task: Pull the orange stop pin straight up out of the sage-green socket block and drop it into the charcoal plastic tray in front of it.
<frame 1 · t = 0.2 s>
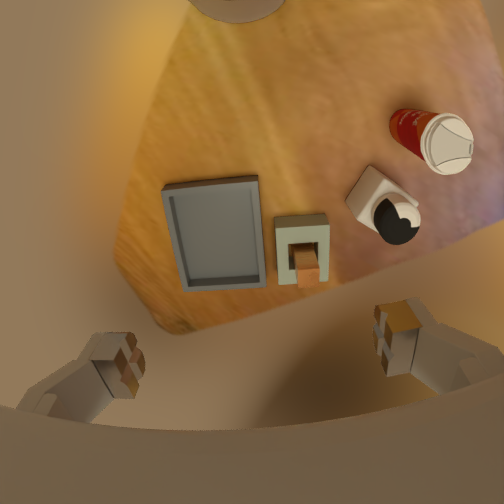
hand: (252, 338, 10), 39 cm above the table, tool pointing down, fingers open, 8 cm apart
stop pin: (304, 259, 48), in the socket block
paper cup: (404, 126, 43), on the table
socket block: (300, 243, 53), on the table
medicine bottle: (372, 193, 48), on the table
tray: (218, 233, 52), on the table
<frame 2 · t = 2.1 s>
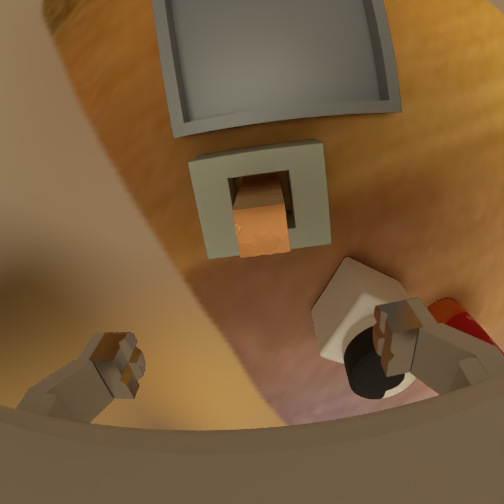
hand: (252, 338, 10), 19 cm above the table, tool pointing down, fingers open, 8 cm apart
stop pin: (262, 207, 23), in the socket block
paper cup: (439, 316, 33), on the table
socket block: (262, 191, 28), on the table
medicine bottle: (355, 295, 32), on the table
tray: (275, 40, 22), on the table
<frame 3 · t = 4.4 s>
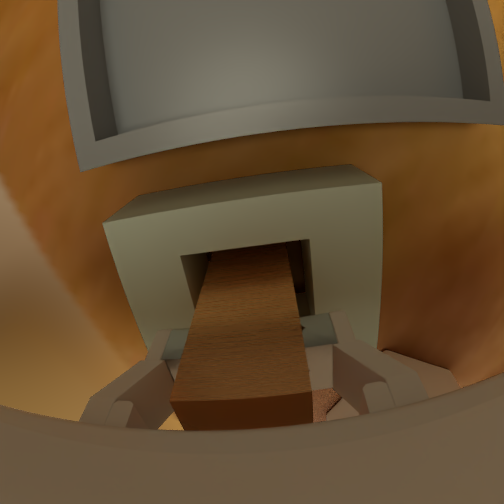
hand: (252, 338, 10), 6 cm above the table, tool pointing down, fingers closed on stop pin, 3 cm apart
stop pin: (253, 318, 11), in the socket block, touching gripper
socket block: (254, 258, 16), on the table
medicine bottle: (389, 391, 20), on the table
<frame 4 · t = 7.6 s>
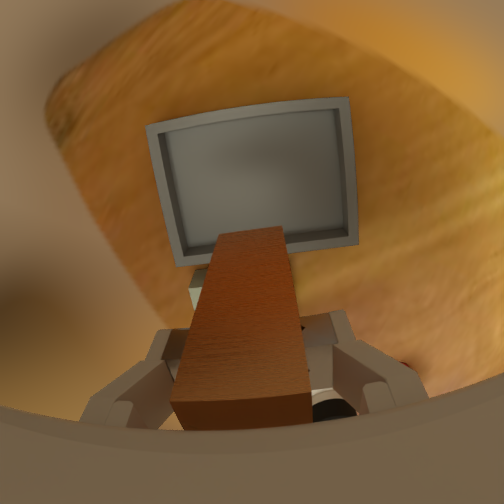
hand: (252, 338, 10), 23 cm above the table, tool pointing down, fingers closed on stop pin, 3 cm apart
stop pin: (253, 318, 11), point 22 cm above the table, touching gripper
socket block: (246, 296, 36), on the table
medicine bottle: (319, 363, 41), on the table
tray: (256, 177, 31), on the table
when the fingers open (9 cm above the table, at t = 11.1 s): stop pin drops 2 cm, resting on tray.
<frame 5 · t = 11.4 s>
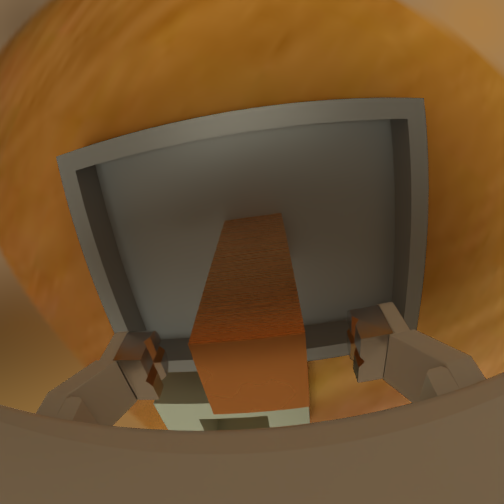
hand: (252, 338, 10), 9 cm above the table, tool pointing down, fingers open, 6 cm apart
stop pin: (256, 289, 13), in the tray, point 6 cm above the table
socket block: (241, 395, 24), on the table
tray: (254, 237, 18), on the table
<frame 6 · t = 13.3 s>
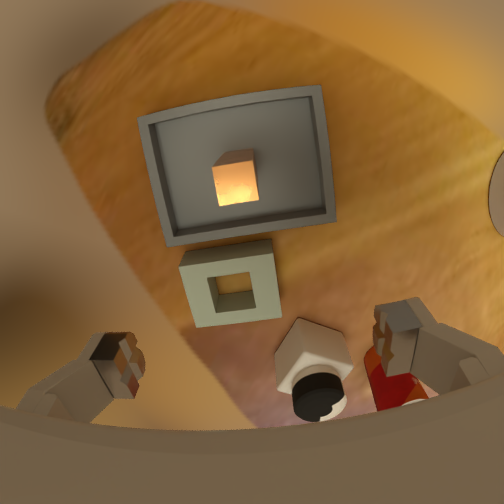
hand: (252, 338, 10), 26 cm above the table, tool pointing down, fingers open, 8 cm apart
stop pin: (238, 172, 28), in the tray, point 6 cm above the table
paper cup: (380, 354, 44), on the table
socket block: (233, 276, 39), on the table
medicine bottle: (307, 342, 43), on the table
tray: (239, 162, 33), on the table
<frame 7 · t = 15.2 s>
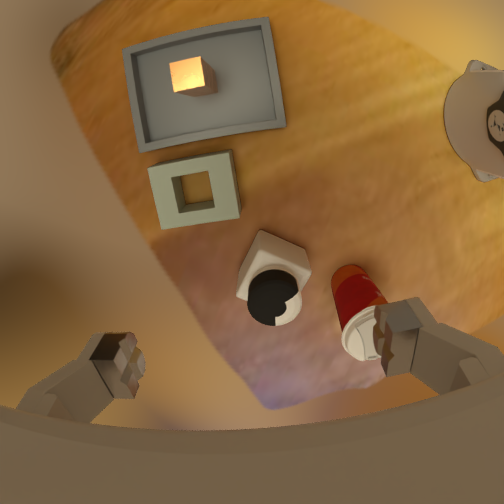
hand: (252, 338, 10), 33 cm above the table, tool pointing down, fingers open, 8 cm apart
stop pin: (196, 79, 31), in the tray, point 6 cm above the table
paper cup: (348, 280, 47), on the table
socket block: (198, 185, 42), on the table
medicine bottle: (271, 259, 46), on the table
tray: (204, 84, 36), on the table
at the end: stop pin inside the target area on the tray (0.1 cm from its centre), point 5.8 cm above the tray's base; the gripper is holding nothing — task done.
